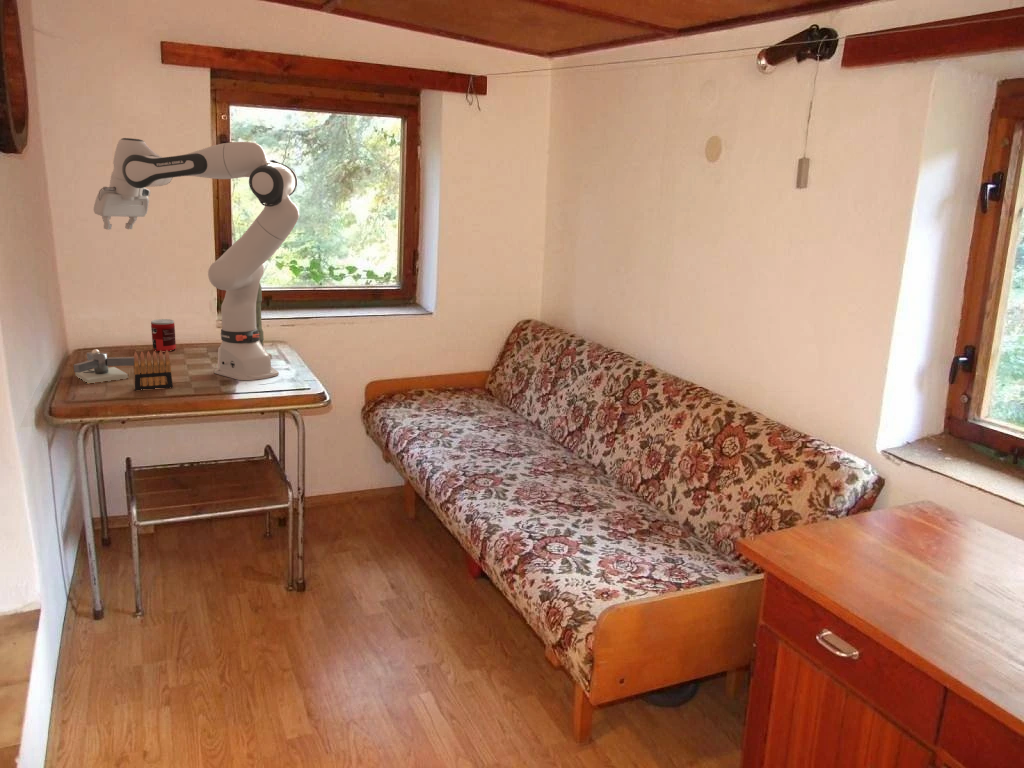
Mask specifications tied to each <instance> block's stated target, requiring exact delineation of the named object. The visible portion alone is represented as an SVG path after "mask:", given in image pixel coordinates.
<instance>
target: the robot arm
mask: <svg viewBox="0 0 1024 768" xmlns="http://www.w3.org/2000/svg"><path fill="white" fill-rule="evenodd" d="M112 160H113V162H112V164H113V170H112V172H111V174H110V175H111V176H110V180H109V186H102V187H101V188H100V189H99V190H98V193H97V195H96V198H95V201H94V204H93V205H94V206H93V212H94V214H95V215H97V216H101V218H102V221H103V229H104V230H107V231H108V230H109V231H110V230H112V225H113V224H111V222H110V220H111V219H112V217H125V218H126V217H127V218H129V219H128V221H127V222H125V226H124V227H125V229H127V230H133V227H134V225H135V223H136V221H137V220H138V218H140V217H141V218H142V217H143V218H144V217H146V215H147V214H148V211H149V206H150V205H149V203H150V198H149V197H150V196H151V190H150V189H148V188H151V187H153V188H154V187H163V186H166V185H169V184H170V183H171V182H172V180H173V178H179V177H197V178H198V177H199V178H205V179H212V180H213V179H215V180H232V179H233V180H234V179H240V178H249V179H248V184H249V188H250V190H251V192H252V193H253V194H254V196H255V197H256V198H257V200H258V201H259V203H260V204H261V205H262V206H264V208H263V209H262V211H261V212H260V213H259V214H258V216H257V217H256V218H255V219H254V221H253V222H252V224H250V226H249V227H248V228H247V229H246V231H244V233H243V234H242V235H241V237H240V238H238V239H237V240H236V241H235V242H234V243H233V244H232V245H231V246H230V247H228V249H226V250H225V251H224V252H223V254H222V255H220V257H219V258H217V259H216V260H215V261H214V262H212V263H211V265H210V266H209V268H208V271H207V276H208V280H209V282H210V283H211V285H212V286H213V287H214V288H216V289H218V290H221V291H225V295H224V298H223V301H222V303H221V306H220V310H221V312H220V313H221V330H220V340H221V344H220V346H218V348H217V368H215V369H214V370H213V372H214V374H217V375H220V376H224V377H228V378H230V379H231V378H232V379H235V380H237V381H238V380H239V381H253V380H262V379H267V378H268V379H269V378H273V377H275V376H278V375H280V373H279V371H278V370H277V369H276V368H274V367H273V366H272V362H271V361H272V359H273V358H272V353H271V352H269V353H268V352H267V350H266V348H265V346H264V345H263V346H262V344H261V343H260V341H259V340H260V336H259V335H260V334H259V332H258V329H257V328H256V301H257V295H258V289H259V283H260V282H261V279H262V277H263V274H264V271H265V270H264V269H265V268H264V263H266V262H267V261H268V260H270V259H271V257H273V256H274V254H275V253H276V252H277V250H278V249H279V248H280V246H281V245H282V244H283V243H284V242H285V241H286V239H287V238H288V237H289V236H290V234H291V233H292V232H293V230H294V227H295V226H296V224H297V222H298V220H299V218H300V210H299V208H298V206H297V205H296V203H294V202H293V201H292V200H291V197H290V196H291V195H293V194H294V193H295V192H296V189H297V188H298V184H299V181H298V176H297V174H296V172H295V171H294V170H293V169H292V168H291V167H289V166H288V165H285V164H283V163H280V162H279V161H276V160H274V159H271V160H268V157H267V154H266V151H265V150H264V148H263V146H261V145H260V144H259V143H257V142H252V141H232V142H225V143H220V144H214V145H211V146H208V147H205V148H202V149H199V150H195V151H193V152H188V153H186V154H180V155H179V154H178V155H174V156H164V157H163V156H161V155H159V154H158V153H157V152H155V151H154V150H153V149H152V148H150V146H148V144H147V143H146V141H145V140H143V139H139V138H132V137H123V138H120V139H119V140H118V141H117V144H116V147H115V151H114V156H113V159H112ZM260 284H261V283H260Z"/></svg>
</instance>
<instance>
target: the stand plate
mask: <svg viewBox="0 0 1024 768" xmlns="http://www.w3.org/2000/svg"><path fill="white" fill-rule="evenodd" d="M74 373H75V377H76V376H77V377H78V379H79V378H80V379H79V380H81V379H82V380H83V382H84V381H85V382H87V383H94V384H96V383H95V382H101V383H104V382H103V381H108V382H112V381H111V380H116V381H121V380H120V379H123V380H127V379H126V378H128V379H129V373H126V372H125V371H123V370H121V369H119V368H117V366H109V367H108V373H103V374H97V373H95V372H94V369H90V370H87V371H83V372H80V373H78V372H74ZM77 377H76V378H77ZM82 380H81V381H82ZM85 382H84V383H85ZM87 383H86V384H87Z"/></svg>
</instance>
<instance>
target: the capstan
mask: <svg viewBox="0 0 1024 768" xmlns="http://www.w3.org/2000/svg"><path fill="white" fill-rule="evenodd" d="M86 356H87V357H86V358H87V360H85V361H81V362H78V363H74V364H73V372H74V373H75V372H78V373H80V372H83V371H87V370H94V372H95V373H97V374H103V373H108V368H109V367H122V366H123V367H128V366H129V367H131V366H132V367H134V356H121V357H120V356H117V357H113V356H112V357H110V356H109V357H108V353H107V352H100V350H99V349H97V348H95V349H93V350H91V351H89V352H86Z"/></svg>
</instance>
